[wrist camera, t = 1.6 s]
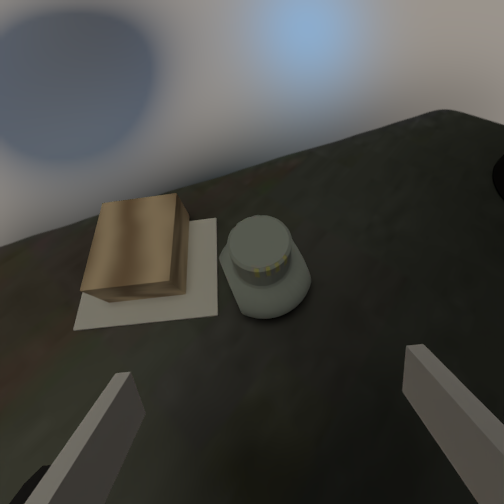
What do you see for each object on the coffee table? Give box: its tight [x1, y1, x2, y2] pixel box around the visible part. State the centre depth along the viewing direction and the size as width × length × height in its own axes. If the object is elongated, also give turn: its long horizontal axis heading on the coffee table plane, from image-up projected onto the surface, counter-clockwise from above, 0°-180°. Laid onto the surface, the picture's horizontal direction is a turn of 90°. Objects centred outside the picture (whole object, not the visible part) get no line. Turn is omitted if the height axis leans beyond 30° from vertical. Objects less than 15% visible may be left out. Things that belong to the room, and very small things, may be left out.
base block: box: [80, 193, 189, 303], centre depth 31 cm, size 10×12×5 cm
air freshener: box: [219, 215, 311, 319], centre depth 26 cm, size 11×8×10 cm
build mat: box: [73, 218, 218, 331], centre depth 32 cm, size 18×14×1 cm
